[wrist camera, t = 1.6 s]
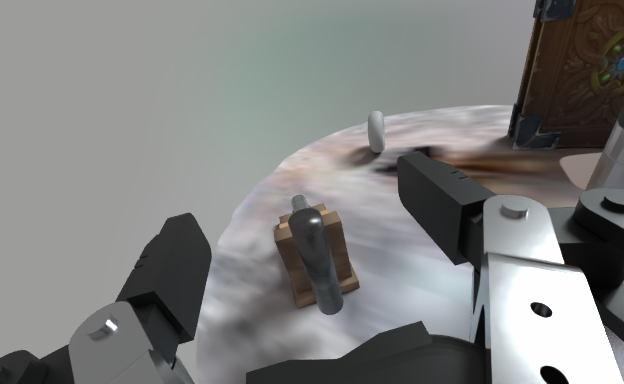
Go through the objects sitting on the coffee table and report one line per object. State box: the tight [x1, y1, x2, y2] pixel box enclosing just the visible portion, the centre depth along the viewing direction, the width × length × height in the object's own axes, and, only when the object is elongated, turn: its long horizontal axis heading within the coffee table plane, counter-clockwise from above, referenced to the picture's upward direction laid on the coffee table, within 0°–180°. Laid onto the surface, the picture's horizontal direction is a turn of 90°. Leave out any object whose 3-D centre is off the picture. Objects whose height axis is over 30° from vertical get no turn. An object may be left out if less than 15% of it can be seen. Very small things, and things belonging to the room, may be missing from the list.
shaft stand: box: [274, 203, 360, 308], centre depth 41 cm, size 9×19×12 cm, turn 13°
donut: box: [368, 111, 385, 153], centre depth 64 cm, size 10×4×10 cm, turn 166°
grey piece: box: [288, 195, 344, 315], centre depth 33 cm, size 3×18×13 cm, turn 13°
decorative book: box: [507, 0, 624, 150], centre depth 44 cm, size 23×7×30 cm, turn 68°
